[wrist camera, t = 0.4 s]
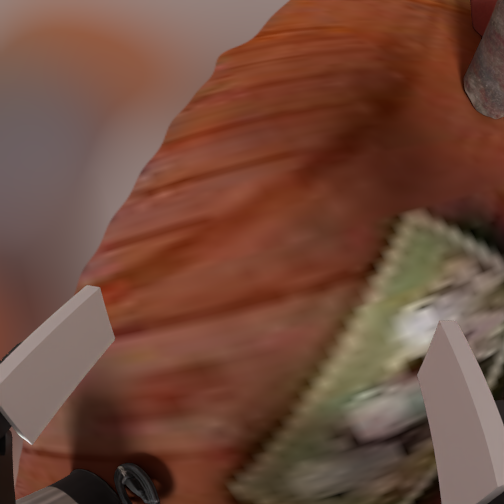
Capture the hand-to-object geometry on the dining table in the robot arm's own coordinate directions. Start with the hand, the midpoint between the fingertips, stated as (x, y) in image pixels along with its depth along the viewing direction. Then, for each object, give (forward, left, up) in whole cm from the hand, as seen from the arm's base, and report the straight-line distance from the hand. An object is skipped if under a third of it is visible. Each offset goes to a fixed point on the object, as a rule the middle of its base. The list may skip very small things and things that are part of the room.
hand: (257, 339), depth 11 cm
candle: (+27, -26, -16) cm, 41 cm away
